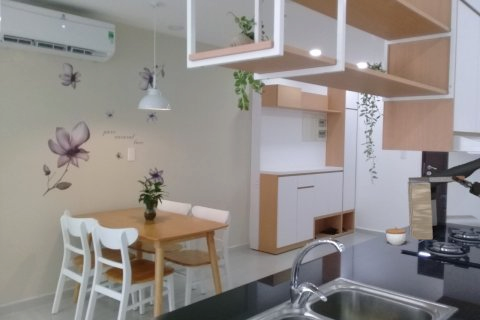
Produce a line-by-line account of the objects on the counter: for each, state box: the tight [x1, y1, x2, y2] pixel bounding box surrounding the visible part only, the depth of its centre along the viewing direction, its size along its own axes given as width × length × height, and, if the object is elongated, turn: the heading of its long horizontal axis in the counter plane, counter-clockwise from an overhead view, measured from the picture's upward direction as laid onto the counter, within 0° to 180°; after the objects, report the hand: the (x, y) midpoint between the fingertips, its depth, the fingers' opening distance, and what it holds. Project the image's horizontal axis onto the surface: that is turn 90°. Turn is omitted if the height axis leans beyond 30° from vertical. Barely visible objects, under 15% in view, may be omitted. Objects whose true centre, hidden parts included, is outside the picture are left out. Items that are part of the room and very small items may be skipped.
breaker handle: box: [429, 176, 466, 183], centre depth 246 cm, size 4×18×3 cm, turn 76°
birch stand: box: [407, 176, 434, 240], centre depth 250 cm, size 15×10×35 cm, turn 166°
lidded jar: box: [385, 226, 407, 246], centre depth 234 cm, size 11×11×9 cm
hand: (451, 176), depth 245 cm, fingers closed on breaker handle, 3 cm apart
